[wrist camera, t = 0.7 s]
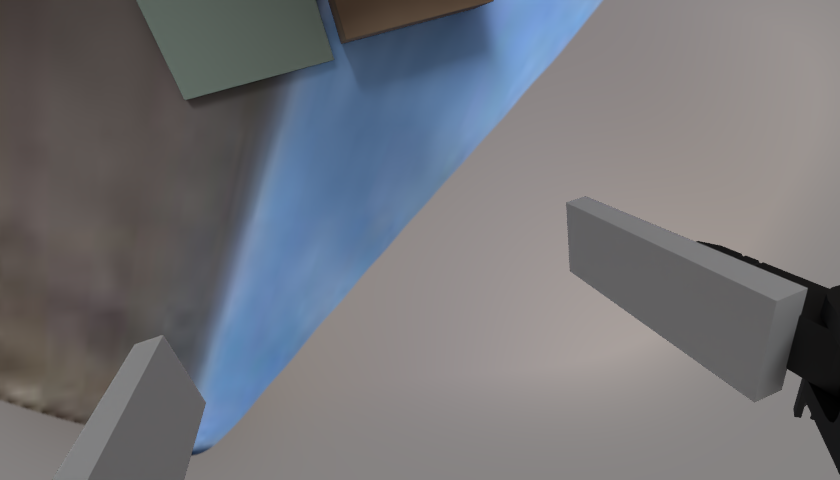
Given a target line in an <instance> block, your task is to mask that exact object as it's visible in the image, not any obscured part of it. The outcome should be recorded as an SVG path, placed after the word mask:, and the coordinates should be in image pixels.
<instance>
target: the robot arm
mask: <svg viewBox="0 0 840 480" xmlns="http://www.w3.org/2000/svg"><path fill="white" fill-rule="evenodd" d="M566 207H567V226H568V245H569V262H570V271H571V272H572V273H573V274H575V275H576V276H578V277H579V278H580V279H582V280H583V281H585V282H586V283H587V284H589V285H590V286H592V287H593V288H595V289H596V290H597V291H599V292H600V293H602V294H603V295H604V296H606V297H607V298H609V299H610V300H611V301H613V302H614V303H616V304H617V305H618V306H620V307H621V308H623V309H624V310H625V311H627V312H628V313H630V314H631V315H632V316H634V317H635V318H637V319H638V320H639V321H641V322H642V323H644V324H645V325H646V326H648V327H649V328H651V329H652V330H653V331H655V332H656V333H658V334H659V335H660V336H662V337H663V338H665V339H666V340H667V341H669V342H670V343H672V344H673V345H674V346H676V347H677V348H679V349H680V350H682V351H683V352H684V353H686V354H687V355H689V356H690V357H692V358H693V359H694V360H696V361H697V362H698V363H700V364H701V365H702V366H704V367H705V368H707V369H708V370H709V371H711V372H712V373H714V374H715V375H716V376H718V377H719V378H721V379H722V380H724V381H725V382H726V383H728V384H729V385H730V386H732V387H733V388H735V389H736V390H738V391H739V392H740V393H742V394H743V395H745V396H746V397H747V398H749V399H750V400H752V401H753V402H756V401H759V400H761V399H763V398H765V397H767V396H769V395H772V394H774V393H776V392H778V391H780V390H782V386H783V383H784V378H785V375H786V371H787V369H788V370H790V371H792V372H794V373H795V374H797V375H799V376H800V377H802V380H801V384H800V387H799V391H798V394H797V398H796V402H795V405H794V417H799V418H801V416H802V413H803V409H804V407H805V406H806V405H808V408H809V410H810V412H811V417H810V418H811V419H812V420H815V422H816V425H817V427H818V429H819V431H820V433H821V435H822V438H823V440H824V442H825V444H826V446H827V448H828V450H829V453H830V455H831V457H832V459H833V461H834V463H835V465H836V468H837V470H838V472H839V474H840V285H839V286H835V287H832V288H831V289H829V288H826V287H823V286H821V285H818V284H816V283H813V282H811V281H808V280H806V279H803V278H801V277H798V276H795V275H793V274H791V273H788V272H785V271H783V270H781V269H778V268H776V267H773V266H771V265H768V264H766V263H759V261H758V260H756V259H753V258H750V257H748V256H742V254H741V253H738V252H736V251H733V250H730V249H728V248H726V247H723V246H720V245H715V244H710V243H705V242H700V241H697V242H695V241H693V240H690V239H688V238H685V237H683V236H680V235H678V234H676V233H673V232H671V231H669V230H666V229H664V228H661V227H659V226H657V225H654V224H651V223H649V222H647V221H644V220H642V219H640V218H637V217H635V216H632V215H630V214H627V213H625V212H623V211H620V210H618V209H615V208H613V207H610V206H608V205H606V204H603V203H601V202H599V201H596V200H594V199H591V198H589V197H586V196H585V197H582V198H579V199H576V200H573V201H570V202H567V203H566ZM205 404H206V402H205V400H204V399H203V397H202V396H201V394H200V392H199V391H198V389H197V388H196V386H195V385H194V383H193V381H192V380H191V378H190V377H189V375H188V373H187V372H186V370H185V369H184V367H183V365H182V364H181V362H180V361H179V359H178V358H177V356H176V354H175V353H174V351H173V350H172V348H171V346H170V345H169V343H168V342H167V340H166V339H165V337H164V335H161V336H158V337H155V338H152V339H149V340H146V341H143V342H140V343H137V344H135V345H134V346H133V348H132V350H131V351H130V353H129V355H128V356H127V358H126V360H125V361H124V363H123V364H122V366H121V368H120V369H119V371H118V373H117V374H116V376H115V378H114V379H113V381H112V382H111V384H110V386H109V387H108V389H107V391H106V392H105V394H104V396H103V397H102V399H101V400H100V402H99V404H98V405H97V407H96V409H95V410H94V412H93V414H92V415H91V417H90V419H89V420H88V422H87V423H86V425H85V427H84V428H83V430H82V432H81V433H80V435H79V437H78V438H77V440H76V442H75V443H74V445H73V446H72V448H71V450H70V452H69V453H68V455H67V456H66V458H65V460H64V461H63V463H62V464H61V466H60V468H59V470H58V471H57V473H56V474H55V476H54V477H53V479H52V480H184V478H185V475H186V471H187V468H188V464H189V461H190V457H191V454H192V450H193V447H194V443H195V439H196V436H197V432H198V429H199V425H200V422H201V418H202V415H203V411H204V408H205Z"/></svg>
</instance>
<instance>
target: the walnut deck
mask: <svg viewBox="0 0 840 480" xmlns="http://www.w3.org/2000/svg"><path fill="white" fill-rule="evenodd" d="M492 1H494V0H328V2H329V5H330V8H331V12H332V15H333V18H334V22H335V25H336V28H337V32H338V35H339V38H340V42H341V44H343V43H347V42H351V41H354V40H358V39H362V38H366V37H369V36H373V35H377V34H381V33H385V32H388V31H392V30H396V29H400V28H403V27H407V26H411V25H415V24H418V23H422V22H426V21H430V20H434V19H437V18H441V17H445V16H449V15H452V14H456V13H460V12H464V11H468V10H471V9H475V8H477V7H480V6H482V5H485V4H487V3H490V2H492Z"/></svg>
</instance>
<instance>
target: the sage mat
mask: <svg viewBox="0 0 840 480" xmlns="http://www.w3.org/2000/svg"><path fill="white" fill-rule="evenodd" d="M136 1H137V3H138V5H139V7H140V9H141V11H142V13H143V15H144V17H145V19H146V21H147V24H148V26H149V28H150V30H151V32H152V34H153V36H154V38H155V40H156V42H157V44H158V46H159V48H160V50H161V52H162V54H163V57H164V59H165V61H166V63H167V65H168V67H169V69H170V71H171V73H172V75H173V77H174V79H175V81H176V83H177V85H178V87H179V90H180V92H181V94H182V96H183V98H184V100H188V99H191V98H195V97H199V96H203V95H206V94H210V93H214V92H217V91H221V90H225V89H228V88H232V87H236V86H239V85H243V84H247V83H251V82H254V81H258V80H262V79H265V78H269V77H273V76H276V75H280V74H284V73H288V72H291V71H295V70H299V69H302V68H306V67H310V66H313V65H317V64H321V63H324V62H328V61H332V60H334V58H333V54H332V51H331V48H330V45H329V42H328V38H327V35H326V32H325V29H324V26H323V22H322V19H321V16H320V13H319V10H318V6H317V3H316V0H136Z"/></svg>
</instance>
